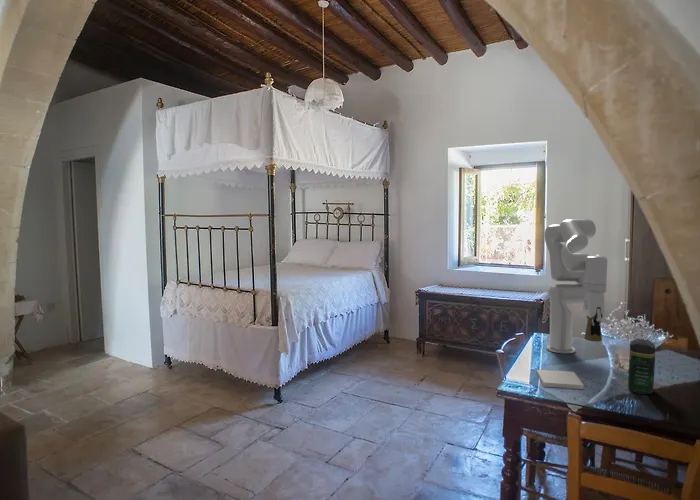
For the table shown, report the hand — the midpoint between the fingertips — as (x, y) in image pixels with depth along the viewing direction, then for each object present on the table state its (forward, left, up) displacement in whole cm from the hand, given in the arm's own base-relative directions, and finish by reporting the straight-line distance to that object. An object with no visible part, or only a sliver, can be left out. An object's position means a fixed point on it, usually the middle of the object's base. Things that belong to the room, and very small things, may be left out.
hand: (593, 333), depth 172 cm
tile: (+4, -13, -18) cm, 23 cm away
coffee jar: (+8, +14, -19) cm, 25 cm away
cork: (0, 0, -3) cm, 3 cm away
